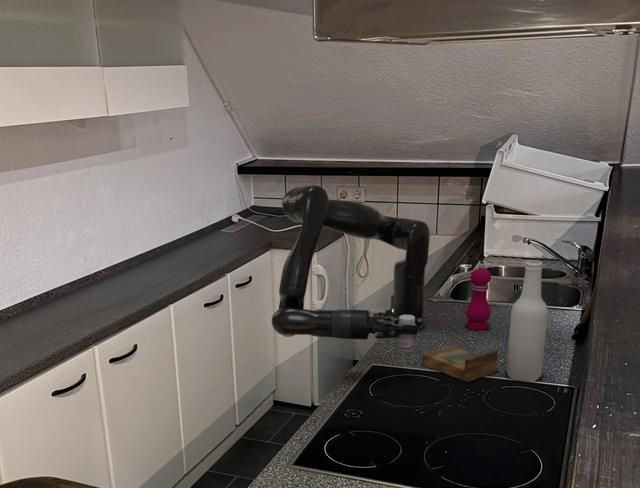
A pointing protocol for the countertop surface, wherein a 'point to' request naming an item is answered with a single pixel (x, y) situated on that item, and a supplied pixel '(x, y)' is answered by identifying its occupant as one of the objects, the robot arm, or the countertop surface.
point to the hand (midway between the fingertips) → (417, 326)
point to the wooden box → (461, 363)
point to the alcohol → (528, 328)
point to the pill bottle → (406, 340)
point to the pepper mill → (479, 300)
